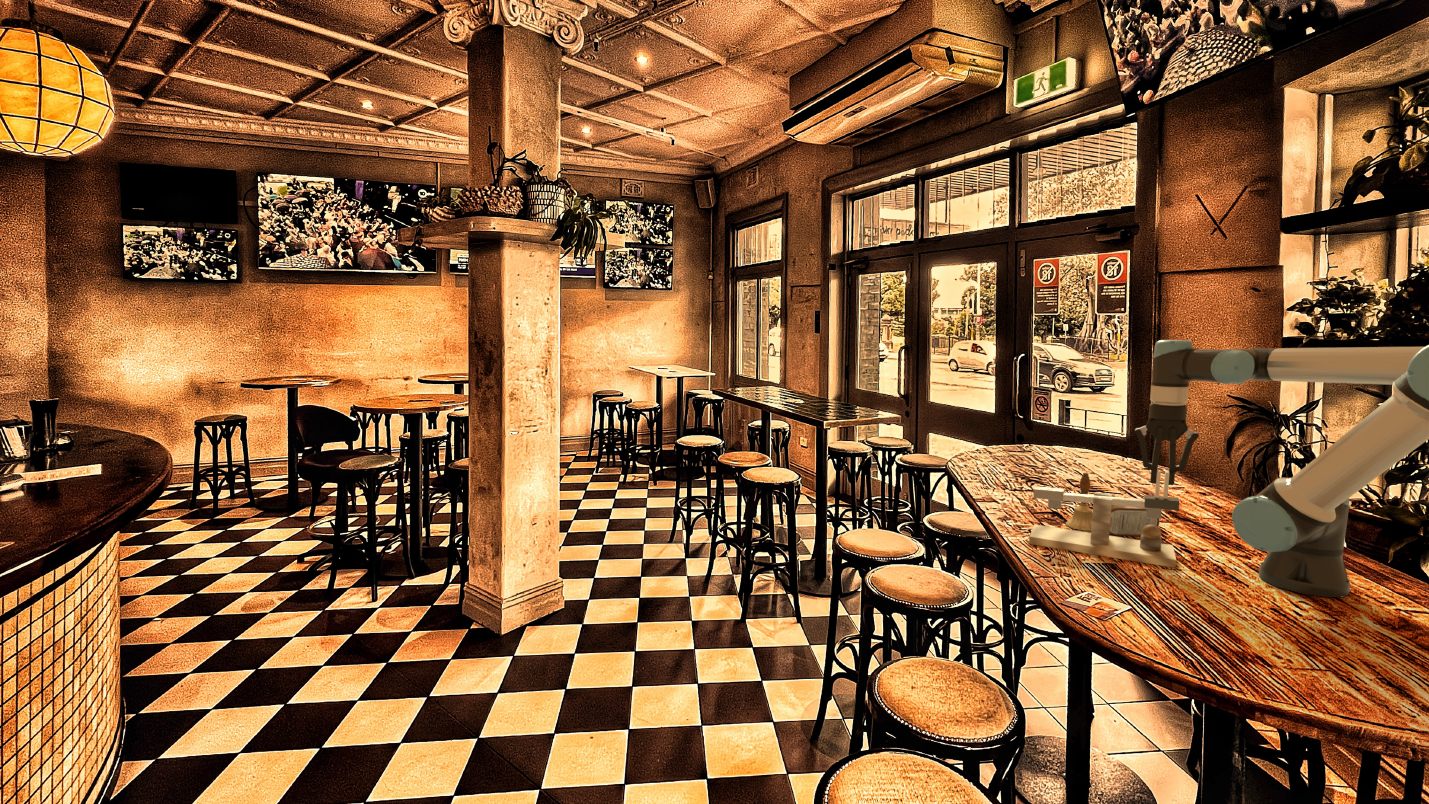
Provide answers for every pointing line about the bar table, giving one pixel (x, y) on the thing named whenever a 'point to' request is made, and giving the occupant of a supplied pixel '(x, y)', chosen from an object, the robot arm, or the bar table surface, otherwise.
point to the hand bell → (1082, 509)
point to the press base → (1102, 550)
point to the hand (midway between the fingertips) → (1160, 496)
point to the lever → (1149, 502)
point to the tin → (1129, 520)
